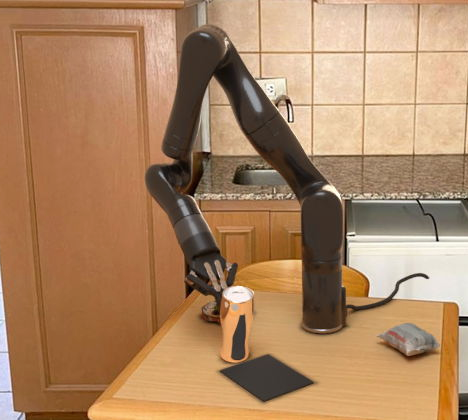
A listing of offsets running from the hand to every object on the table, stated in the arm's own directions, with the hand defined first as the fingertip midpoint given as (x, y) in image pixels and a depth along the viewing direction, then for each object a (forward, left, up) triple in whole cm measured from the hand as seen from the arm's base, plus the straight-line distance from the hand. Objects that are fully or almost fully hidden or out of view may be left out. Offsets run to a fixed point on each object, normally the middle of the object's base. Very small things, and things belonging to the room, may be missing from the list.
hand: (227, 308), depth 171 cm
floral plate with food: (-7, -20, -11) cm, 24 cm away
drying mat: (-2, +14, -10) cm, 17 cm away
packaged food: (-34, +17, -11) cm, 40 cm away
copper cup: (0, +2, -10) cm, 10 cm away
